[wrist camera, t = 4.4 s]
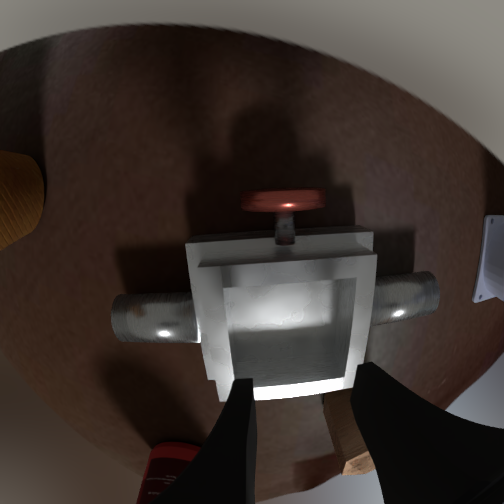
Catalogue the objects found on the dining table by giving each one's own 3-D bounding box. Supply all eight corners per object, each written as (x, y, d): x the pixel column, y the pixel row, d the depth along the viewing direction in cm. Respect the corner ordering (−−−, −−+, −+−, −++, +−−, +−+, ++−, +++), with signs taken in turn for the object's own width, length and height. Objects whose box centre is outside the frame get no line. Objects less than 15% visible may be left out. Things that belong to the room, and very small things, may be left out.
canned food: (190, 477, 23) (181, 549, 13) (137, 448, 21) (114, 525, 11) (238, 464, 22) (237, 548, 11) (181, 432, 20) (162, 530, 10)
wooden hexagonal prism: (371, 374, 19) (404, 435, 12) (363, 409, 20) (388, 465, 13) (325, 385, 19) (348, 453, 12) (322, 419, 20) (340, 480, 13)
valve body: (423, 187, 15) (467, 194, 11) (405, 337, 18) (434, 369, 14) (111, 204, 15) (71, 215, 11) (146, 360, 18) (126, 401, 14)
